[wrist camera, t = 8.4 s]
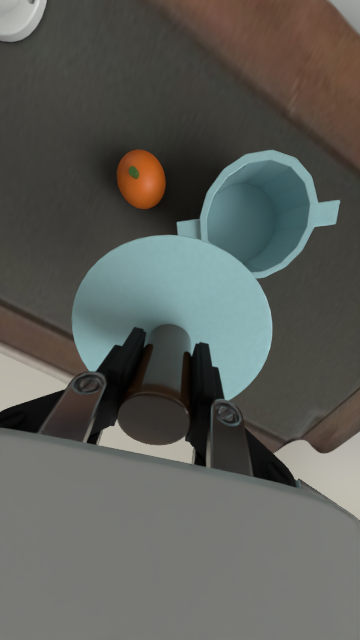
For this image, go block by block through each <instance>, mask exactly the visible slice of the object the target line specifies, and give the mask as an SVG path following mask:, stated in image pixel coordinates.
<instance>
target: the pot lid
mask: <svg viewBox="0 0 360 640" xmlns="http://www.w3.org/2000/svg"><path fill="white" fill-rule="evenodd" d="M134 327H137V328H142V329H144V332H146V338H145V344H144V349H143V351H142V353H141V356H140V358H139V360H138V363H137V365H136V367H135V369H134V372H133V374H132V376H131V379H130V381H129V383H128V386H127V388H126V390H125V393H124V395H123V397H122V400H121V402H120V404H119V407H118V409H117V420H118V423H119V426H120V427H121V429H122V430H123V431H124V432H125V433H126V434H127V435H128V436H130V437H131V438H133V439H135V440H137V441H140V442H142V443H145V444H150V445H166V444H171V443H174V442H177V441H179V440H180V439H182V438H183V437H184V436H186V434H187V433H188V431H189V430H190V427H191V423H192V354H193V350H194V347H195V344H196V343H197V344H199V342H203V343H208V344H209V348H210V355H211V361H212V366H215V367H218V369H219V373H220V378H221V383H222V388H223V392H224V397H225V400H230V399H232V398H233V397H235V396H236V395H237V394H239V393H240V392H241V391H243V390H244V389H245V388H246V387H247V386H248V385H249V384H250V383H251V382H252V381H253V380H254V378H255V377H256V376H257V374H258V373H259V371H260V370H261V368H262V366H263V364H264V362H265V360H266V358H267V355H268V352H269V349H270V345H271V338H272V318H271V312H270V308H269V305H268V301H267V298H266V296H265V294H264V292H263V290H262V288H261V286H260V284H259V283H258V281H257V280H256V279H255V277H254V276H253V274H252V273H251V272H250V271H249V270H248V269H247V268H246V267H245V266H244V265H243V264H242V263H241V262H240V261H239V260H237V259H236V258H235V257H233V256H232V255H231V254H230V253H228V252H226V251H224V250H223V249H221V248H219V247H217V246H215V245H213V244H210V243H208V242H205V241H202V240H200V239H195V238H191V237H186V236H177V235H157V236H149V237H144V238H139V239H135V240H133V241H130V242H127V243H125V244H122V245H120V246H119V247H117V248H115V249H113V250H112V251H110V252H108V253H107V254H106V255H105V256H103V257H102V258H101V259H99V260H98V261H97V262H96V263H95V264H94V266H93V267H92V268H91V269H90V270H89V271H88V273H87V274H86V276H85V277H84V279H83V280H82V282H81V284H80V286H79V288H78V291H77V293H76V296H75V300H74V304H73V310H72V330H73V336H74V341H75V344H76V347H77V350H78V352H79V354H80V356H81V358H82V361H83V362H84V364H85V365H86V367H87V368H88V370H89V371H96V370H97V369H98V367H99V366H100V364H101V363H102V362H103V360H104V359H105V357H106V356H107V355H108V353H109V352H110V350H111V349H112V348H113V346H114V345H120V346H122V345H123V344H124V342H125V341H126V339H127V338H128V336H129V334H130V333H131V331H132V330H133V328H134Z"/></svg>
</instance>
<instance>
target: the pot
mask: <svg viewBox="0 0 360 640" xmlns="http://www.w3.org/2000/svg"><path fill="white" fill-rule="evenodd" d="M317 201H318V200H317V196H316V192H315V188H314V184H313V180H312V176H311V175H310V174H309V173H308V171H307V170H306V169H305V168H304V167H303V166H302V164H301V163H300V162H299V161H298V160H297V159H296V158H295V157H292V156H289V155H286V154H283V153H280V152H278V151H275V150H267V151H261V152H255V153H249V154H245V155H244V156H242V157H241V158H239V159H238V160H236V161H235V162H233V163H232V164H230V165H229V166H227V167H226V168H224V169H223V170H222V172H221V173H220V174H219V176H218V177H217V179H216V180H215V181H214V183H213V184H212V186H211V187H210V188H209V190H208V191H207V193H206V196H205V199H204V202H203V205H202V209H201V212H200V216H199V219H194V220H187V221H179V222H177V232H178V236H186V237H191V238H195V239H200V240H202V241H205V242H208V243H210V244H213V245H215V246H217V247H219V248H221V249H223V250H224V251H226V252H228V253H230V254H231V255H232V256H233V257H235V258H236V259H237V260H239V261H240V262H241V263H242V264H243V265H244V266H245V267H246V268H247V269H248V270H249V271H250V272H251V273H252V274H253V276H254V277H255V278H264V277H266V276H268V275H270V274H272V273H274V272H276V271H278V270H280V269H283V268H284V267H286V266H287V265H288V264H289V263H290V262H291V261H292V260H293V259H294V258H295V257H296V256H297V255H298V254H299V253H300V252H301V251H302V249H303V248H304V246H305V244H306V242H307V240H308V238H309V236H310V234H311V232H312V230H313V228H314V227H317V226H325V225H333V224H336V219H337V214H338V209H339V203H340V200H334V201H327V202H319V203H318V202H317Z"/></svg>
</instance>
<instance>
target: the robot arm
mask: <svg viewBox="0 0 360 640" xmlns="http://www.w3.org/2000/svg"><path fill="white" fill-rule="evenodd" d="M46 2H47V0H0V41H5V42H15V41H19V40H22V39H24V38H25V37H27V36H29V35H30V34H31V33H32V32H33V30H34V29H35V28H36V27H37V25H38V23H39V22H40V20H41V18H42V15H43V12H44V9H45V6H46ZM145 338H146V332H144V329H142V328H137V327H134V328H133V330H132V331H131V333H130V334H129V336H128V338H127V339H126V341H125V342H124V344H123V345H122V346H120V345H114V346H113V348H112V349H111V350H110V352H109V353H108V355H107V356H106V357H105V359H104V360H103V362H102V363H101V364H100V366H99V367H98V369H97V370H96V371H88V372H83V373H81V374H78V375H77V376H75V377H74V378H73V379H72V380H71V382H70V383H69V385H68V386H67V388H66V389H65V390H61V391H59V392H55V393H52V394H49V395H46V396H43V397H40V398H37V399H34V400H31V401H28V402H25V403H22V404H19V405H16V406H13V407H10V408H7V409H5V410H3V411H1V412H0V640H360V520H358V519H357V518H356V517H355V516H354V515H352V514H351V513H349V512H348V511H346V510H345V509H343V508H342V507H340V506H339V505H337V504H336V503H335V502H333V501H332V500H330V499H328V498H327V497H326V496H324V495H322V494H321V493H320V492H318V491H317V490H315V489H314V488H312V487H311V486H309V485H308V484H306V483H305V482H303V481H302V480H300V479H298V480H297V481H296V480H295V479H294V477H293V475H292V474H291V472H290V471H289V469H288V468H287V467H286V466H285V465H284V464H283V463H282V462H281V461H280V460H279V459H278V458H277V457H276V456H275V455H274V454H273V453H272V452H271V451H270V450H268V449H267V448H266V447H265V446H264V445H263V444H262V443H261V442H260V441H259V440H258V439H257V438H255V437H254V436H253V435H252V434H251V433H250V432H249V431H248V430H247V429H246V428H245V426H244V420H243V416H242V413H241V411H240V410H239V408H238V407H237V406H236V405H235V404H233V403H232V402H230V401H228V400H225V397H224V392H223V388H222V383H221V378H220V373H219V369H218V367H215V366H212V361H211V355H210V348H209V344H208V343H203V342H199V344H197V343H196V344H195V347H194V350H193V354H192V423H191V427H190V430H189V431H188V433H187V434H186V436H185V441H188V442H190V444H191V445H192V446H193V447H194V449H193V457H192V464H188V463H184V462H179V461H174V460H169V459H164V458H159V457H154V456H149V455H144V454H139V453H134V452H129V451H124V450H119V449H114V448H109V447H104V446H99V445H98V444H99V441H100V438H101V435H102V431H103V429H105V428H107V427H109V426H114V425H115V422H116V420H117V409H118V407H119V404H120V402H121V400H122V397H123V395H124V393H125V390H126V388H127V386H128V383H129V381H130V379H131V376H132V374H133V372H134V369H135V367H136V365H137V363H138V360H139V358H140V356H141V353H142V351H143V349H144V344H145Z"/></svg>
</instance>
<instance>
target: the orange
mask: <svg viewBox="0 0 360 640" xmlns="http://www.w3.org/2000/svg"><path fill="white" fill-rule="evenodd" d="M117 182H118V186H119V189H120V192H121V193H122V195H123V197H124V198H125V199H126V201H127V202H129V203H130V204H131V205H132V206H134V207H137V208H140V209H149V208H152V207H154V206H155V205H156V204H158V203H159V201H160V200H161V199H162V197H163V194H164V191H165V185H166V181H165V174H164V171H163V168H162V166H161V164H160V163H159V161H158V160H157V159H156V158H155V157H154V156H153V155H152V154H151V153H149V152H147V151H144V150H133V151H130V152H128V153H127V154H125V156H124V157H123V158H122V159H121V161H120V163H119V166H118V170H117Z"/></svg>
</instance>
